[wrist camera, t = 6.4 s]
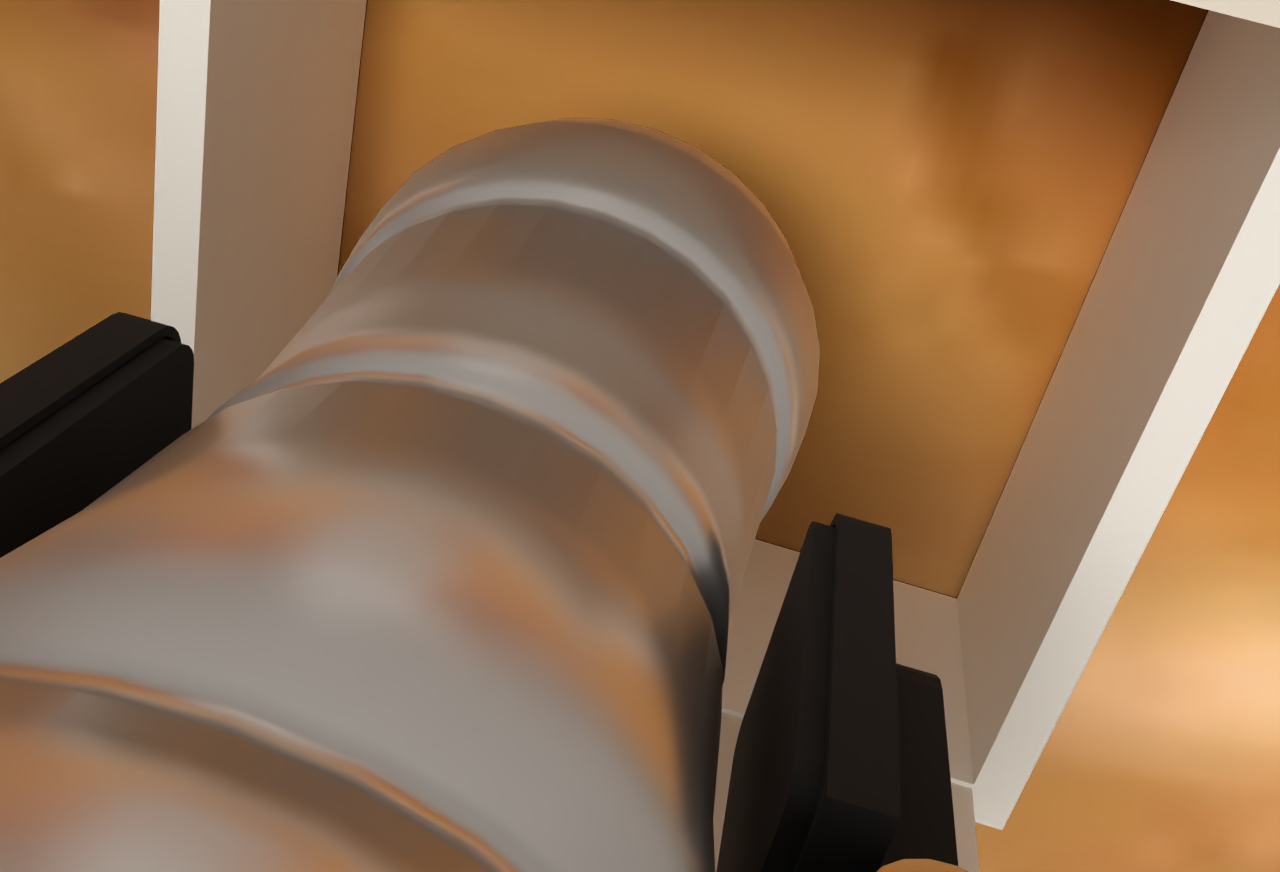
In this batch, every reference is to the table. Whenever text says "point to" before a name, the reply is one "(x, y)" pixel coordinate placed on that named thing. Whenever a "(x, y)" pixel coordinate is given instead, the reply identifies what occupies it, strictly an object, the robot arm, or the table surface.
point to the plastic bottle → (434, 546)
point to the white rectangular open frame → (924, 620)
